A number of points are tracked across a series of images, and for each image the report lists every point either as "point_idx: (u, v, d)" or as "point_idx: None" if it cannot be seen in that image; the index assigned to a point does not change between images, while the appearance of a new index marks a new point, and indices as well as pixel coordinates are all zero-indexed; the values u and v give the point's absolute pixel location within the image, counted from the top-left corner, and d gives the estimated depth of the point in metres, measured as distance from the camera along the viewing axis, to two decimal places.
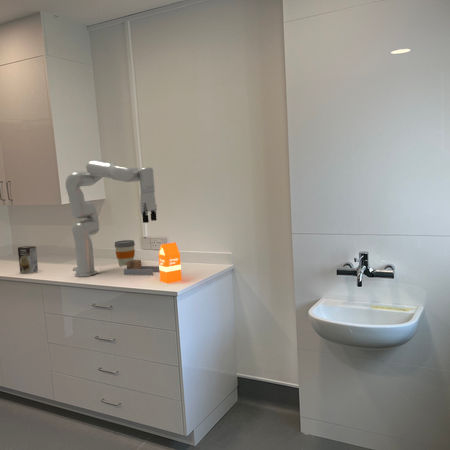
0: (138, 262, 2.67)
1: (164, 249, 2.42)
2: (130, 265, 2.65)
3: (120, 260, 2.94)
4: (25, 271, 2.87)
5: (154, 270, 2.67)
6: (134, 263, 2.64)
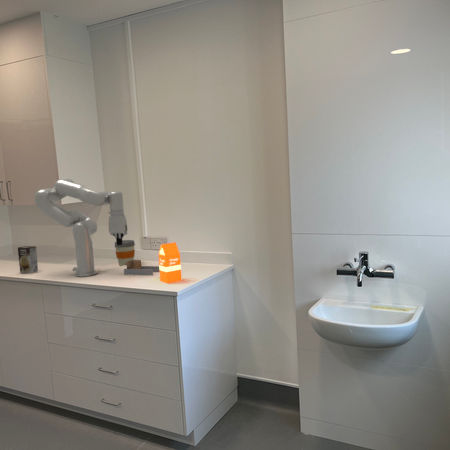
0: (138, 262, 2.67)
1: (164, 249, 2.42)
2: (130, 265, 2.65)
3: (120, 260, 2.94)
4: (25, 271, 2.87)
5: (154, 270, 2.67)
6: (134, 263, 2.64)
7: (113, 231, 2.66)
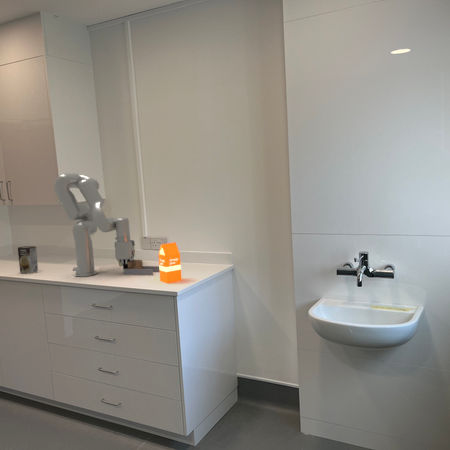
0: (139, 262, 2.66)
1: (164, 249, 2.42)
2: (131, 265, 2.64)
3: None
4: (25, 271, 2.87)
5: (154, 270, 2.67)
6: (135, 263, 2.63)
7: (120, 257, 2.67)
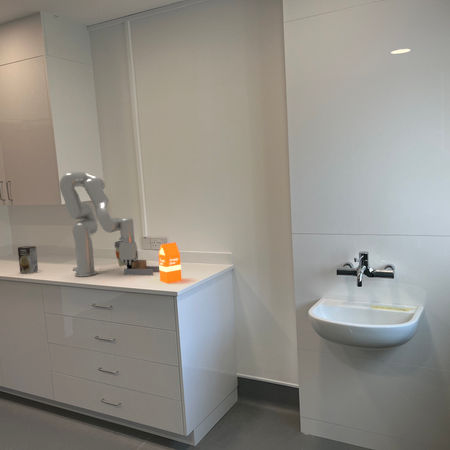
0: (144, 262, 2.65)
1: (164, 249, 2.42)
2: (136, 266, 2.63)
3: (120, 260, 2.94)
4: (25, 271, 2.87)
5: (154, 270, 2.67)
6: (139, 263, 2.62)
7: (124, 258, 2.66)
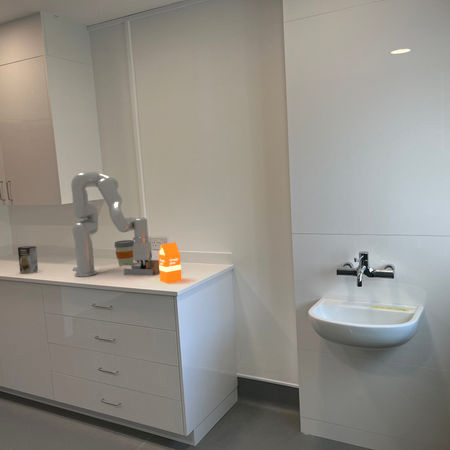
0: (158, 262, 2.62)
1: (164, 249, 2.42)
2: (150, 266, 2.60)
3: (120, 260, 2.94)
4: (25, 271, 2.87)
5: None
6: (154, 263, 2.59)
7: (137, 258, 2.63)
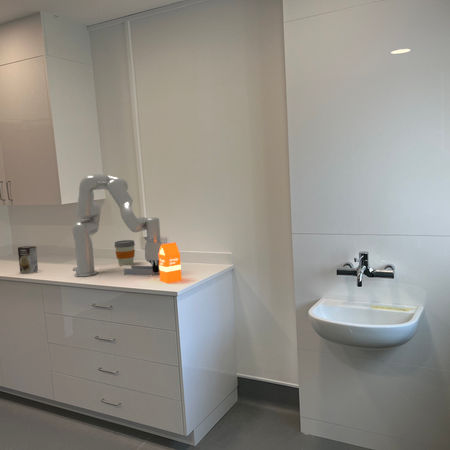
0: None
1: (164, 249, 2.42)
2: None
3: (120, 260, 2.94)
4: (25, 271, 2.87)
5: None
6: None
7: (150, 258, 2.60)
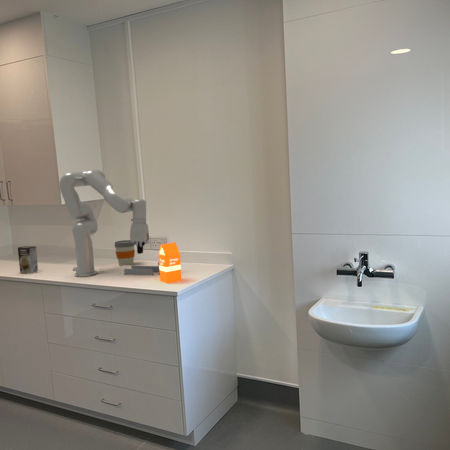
0: None
1: (164, 249, 2.42)
2: None
3: (120, 260, 2.94)
4: (25, 271, 2.87)
5: (154, 270, 2.67)
6: None
7: (134, 239, 2.63)
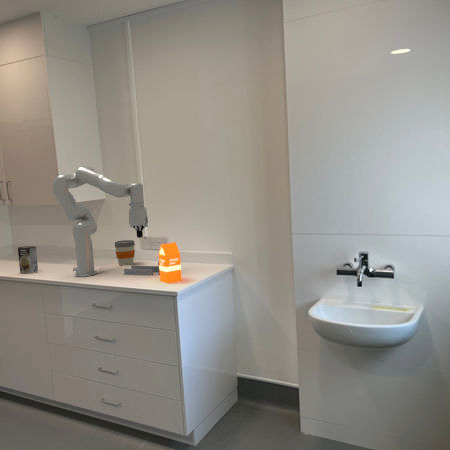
0: None
1: (164, 249, 2.42)
2: None
3: (120, 260, 2.94)
4: (25, 271, 2.87)
5: (154, 270, 2.67)
6: None
7: (133, 223, 2.63)
